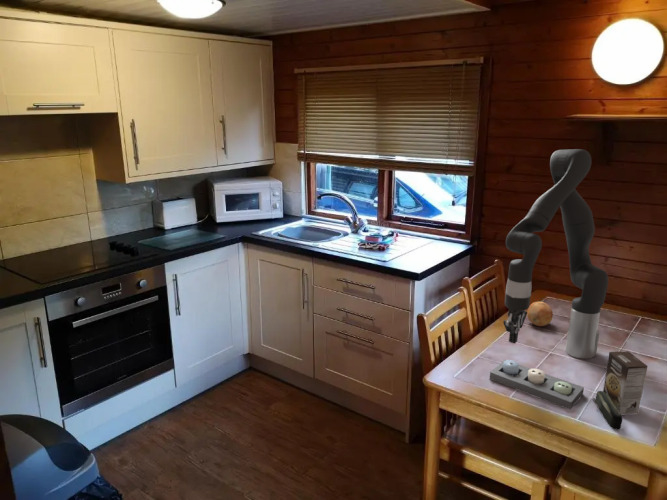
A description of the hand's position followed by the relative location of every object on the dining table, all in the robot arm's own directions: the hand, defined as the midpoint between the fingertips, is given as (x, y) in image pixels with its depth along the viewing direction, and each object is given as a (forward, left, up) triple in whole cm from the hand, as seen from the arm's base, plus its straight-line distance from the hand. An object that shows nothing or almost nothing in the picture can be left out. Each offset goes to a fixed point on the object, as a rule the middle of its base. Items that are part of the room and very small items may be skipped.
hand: (512, 342), depth 170 cm
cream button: (-6, +6, -11) cm, 14 cm away
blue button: (0, 0, -11) cm, 11 cm away
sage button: (-12, +12, -12) cm, 21 cm away
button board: (-6, +6, -13) cm, 16 cm away
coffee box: (-27, +18, -13) cm, 35 cm away
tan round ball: (-26, -39, -13) cm, 49 cm away
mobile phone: (-21, +22, -13) cm, 33 cm away
